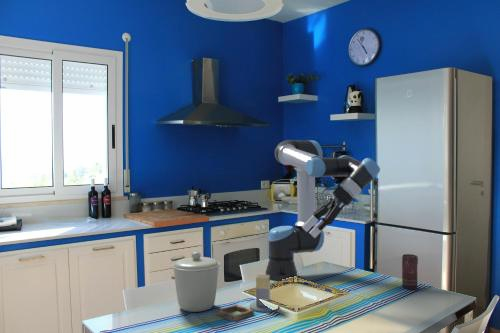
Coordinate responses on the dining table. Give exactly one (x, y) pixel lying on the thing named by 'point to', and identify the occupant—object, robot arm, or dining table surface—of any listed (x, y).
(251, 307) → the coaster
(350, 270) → the dining table surface
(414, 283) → the can
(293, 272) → the robot arm
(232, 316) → the socket frame
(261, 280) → the yellow and grey cylinder
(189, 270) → the canister
